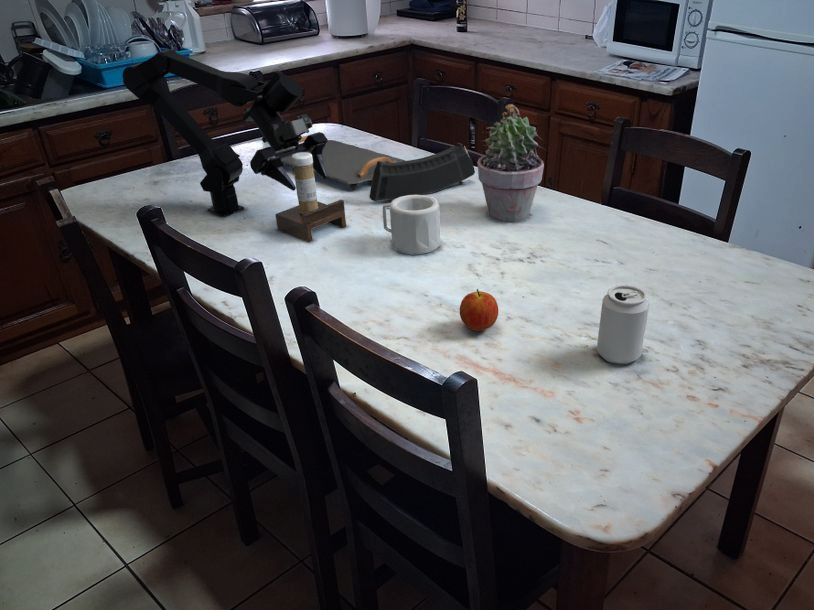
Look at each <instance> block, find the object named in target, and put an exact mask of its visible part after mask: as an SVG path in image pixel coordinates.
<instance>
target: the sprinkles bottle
mask: <svg viewBox="0 0 814 610" xmlns="http://www.w3.org/2000/svg"><path fill="white" fill-rule="evenodd" d="M291 158H292V164H293V166H292V167H293V173H294V180H295V183H294V184H295V187H296V189H295V191H296V196H297V202H298V205H299V212H300V213H301V214H304V213H307V212H310V211H312V210H315V209H317V208H318V203H317V201H318V196H317V187H316V178H315V173H314V172H313V158H312V154H310V153H307V152H300V153H295V154H293V155H292V156H291Z"/></svg>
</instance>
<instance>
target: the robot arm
mask: <svg viewBox="0 0 814 610" xmlns="http://www.w3.org/2000/svg"><path fill="white" fill-rule="evenodd" d="M168 74H172V75H174V76H177V77H179V78H182V79H183V80H187V81H189V82H192V83H194V84H196V85H199V86H201V87H204V88H207V89H209V90H211V91H213V92H215V93H216V94H217V95H218V96H219V98H221V100H223V101H225V102H227V103H229V104H230V105H232V106H233V107H236V108H242V107H244V106H246V105H248V104H250V103H252V102H253V103H252V105H251V106H250V107H249V108H248V107H247V108H244V109H243V115H242V121H243V122H254V124H255V125H256V127H257V129H258V130H259V131H260V133H261V135H262V138H261V141H262V142H263V144H266V143H267V144H268V145H269V146H267V147H264V148H259V149H257V150H256V151H255V153H254V155H253V156H252V158H251V160H250V161H249V164H250V169H251V170H252V172H253V173H254V174H255V175H258V174H260V175H261V176H266V177H268V178H269V179H272V180H274V181H276V182H278V183H279V184H281V185H282V186H284V187H286V188H288V189H289V190H291V191H292V192H294V191H296V184H295V183H294V181H293V180H292V178H291V177H290V175H289V174H288V172H287V170H286V169H285V168H284V165H283V166H282V162H281V159H283V158H286V157H289V156H292V155H293V154H295V153H300V152H307V153H310V154H312V158H313V168H314V169H315V170H316V172H317V173H318V174H319V175H318V174H317V175H318V176H320V177H321V179H323V180H324V181H326V180H327V179H328V177H327V173H326V169H325V165H324V161H323V155H322V151H323V149H324V147H325V144H326V143H327V142H328V140H329V139H328V138H327V136H326V135H325V133H324V132H321V131H318V132H315V133H312V134H309V133H310V130H309V129H311V128H313V122H312V120H311V118H310V116H309V115H308V113H302V114H300V115H298V116H296V119H294V120H291V121H290V120H288V119H283V117H282V115H281V114H280V113H287V112H288V111H289V109H291V107H292V106H294V104H295V103H297V101H298V99H300V98H301V97H302V95H303V89H302V86H301V85H300V84H299V82H298V81H297V80H295V79H293V78H292V77H290V76H289V75H287V74H284V73H283V72H282V71H281V70H278V71H275V73H274V74H273V75H272V76H271V79H270V80H269V81H268V82H265V81H260V80H257V78H256V77H255V76H253V75H251V74H248V73H242V72H238V71H225V70H222V69H221V70H220V69H218V68H216V67H213V66H210V65H208V64H206V63H203V62H200V61H198V60H195V59H193V58H190V57H189V56H186V55H183V54H180V53H178V52H177V51H176V50H173V49H171V48H169V49H164V50H162V51H159V52H156V53H155V54H153V56H151V57H150V58H148V59H145V61H141V62H139V63H135V64H133V65H129V66H126V67H125V68H124V69H123V70H122V83H123V85H124V86H125V88H126V89H127V91H129V92H130V93H131V94H133V95H134V96H135V97H136V98H138V99H139V100H141V101H143V102H145V103H147V104H149V105H150V106H153V107H154V108H155V109H156V110H157V112H158V113H159V114H161V116H163V118H164V119H165V120H166V121H167V122H168V124H170V126H171V127H172V128H173V129H174V130H175V131H176V132H177V133H178V134H179V135H180V137H181V138H182V139H183V140H184V141H185V142H186V143H187V144H188V146H189V147H190V148H192V150H193V151H194V152H195V154H197V155H198V158H199V161H200V163H201V167H202V169H203V171H204V172H205V174H206V175H205V176H204V177H203V178H202V179H201V181H200V182H199V185H200V187H201V188H202V190H203V192H208V193H209V194H210V199H211V204H212V206H211V207H209V208H207V211H208V212H210V213H212V214H215V215H218V216H220V217H221V218H222V217H227V216H229V215H233V214H235V213H238V212H241V211H243V210H245V207H244V206H242V205H239V200H238V195H237V192H236V186H235V184H236V183H238V182H240V177H241V175H242V174H243V170H244V165H243V162H242V160H241V159H240V157H241V155H240V154H238V153H237V152H236V151H235V150H234V149H233V148H232V146H231V145H230V144H229V143H224V144H222V145H221V144H220V143H217V142H215V140H214V139H212V137H211V136H210V135H209V134H208V132H207V131H206V130H205V129H204V128H203V127H202V126H201V125H200V124H199V123H198V122H197V121H196V120H195V118H194V117H193V116H192V115H191V114H190V113H189V112H188V110H186V108H185V107H184V106H183V105H182V104H181V103H180V102H179V100H177V98H176V97H175V96H174V95H173V94H172V93H171V90H170V87H169V84H168V80H167V78H166V77H165V76H167V75H168ZM260 98H261V99H260ZM258 99H260V100H258ZM305 134H308V135H306V136H307V138H306V139H305V141H304V142H301V143H298V141H300V140H301V139H302V137H303V136H302V135H305Z"/></svg>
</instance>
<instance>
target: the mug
mask: <svg viewBox="0 0 814 610" xmlns="http://www.w3.org/2000/svg"><path fill="white" fill-rule="evenodd" d="M387 208H389V219H390V227H388V222H387V220H388V219H387ZM382 223H383V229H384V230H385V231H386V232H389V233H390V234H391V235H390V236H391V246H392V248H393V249H395V251H397V252H400V253H402V254H406V255H424V254H429V253H432V252H434V251H436V250H437V249H438V248H439V247H440V246H441V210H440V202H439V201H438V200H437V199H436V198H434V197H432V196H429V195H407V196H402V197H399V198H396V199H393V200H391V202H390V203H384V204H383V205H382Z"/></svg>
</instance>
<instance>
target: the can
mask: <svg viewBox="0 0 814 610" xmlns="http://www.w3.org/2000/svg"><path fill="white" fill-rule="evenodd" d="M647 297H648V296H647V293H646V292H645V291H644V290H643V289H642V288H639V287H637V286H634V285H628V284H620V285H615V286H612V287H610V288H609V289H608V291H607V292H606V294H605V295H604V296H603V298H602V302H601V310H600V316H599V317H600V319H599V326H598V335H597V343H596V351H597V353H598V354H599V356H600V357H602V359H604V360H605V361H607V362H609V363H612V364H615V365H627V364H631V363H633V362H635V361H637V360H638V359H639V358H640V357H641V355H642V350H643V347H644V340H645V334H646V329H647V323H648V316H649V311H650V302H649V300H648V299H647Z"/></svg>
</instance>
